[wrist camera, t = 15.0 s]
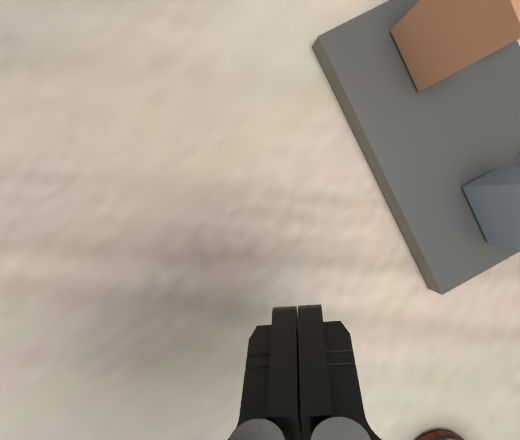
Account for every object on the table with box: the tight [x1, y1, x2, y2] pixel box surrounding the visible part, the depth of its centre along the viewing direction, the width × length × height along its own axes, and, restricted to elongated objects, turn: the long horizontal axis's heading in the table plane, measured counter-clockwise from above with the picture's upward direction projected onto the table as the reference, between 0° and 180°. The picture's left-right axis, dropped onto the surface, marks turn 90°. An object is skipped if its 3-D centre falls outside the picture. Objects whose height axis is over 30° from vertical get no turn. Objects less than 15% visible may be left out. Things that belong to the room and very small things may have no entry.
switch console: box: [312, 0, 520, 295], centre depth 28 cm, size 22×14×6 cm, turn 28°
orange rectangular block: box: [390, 0, 520, 92], centre depth 23 cm, size 5×3×10 cm, turn 28°
